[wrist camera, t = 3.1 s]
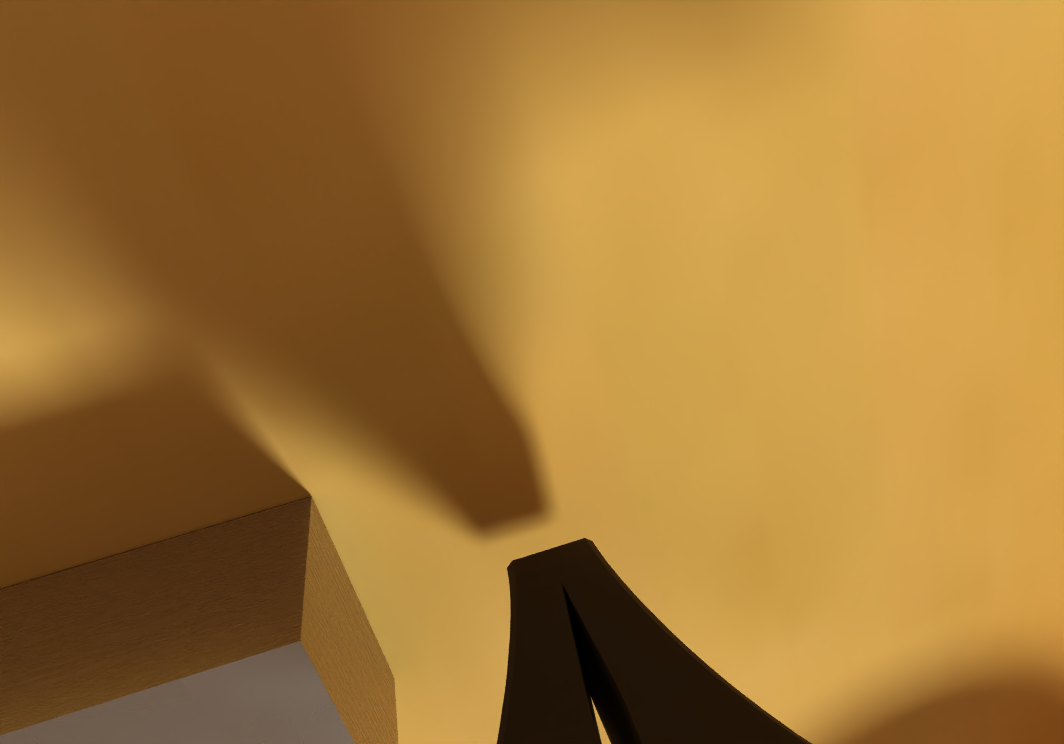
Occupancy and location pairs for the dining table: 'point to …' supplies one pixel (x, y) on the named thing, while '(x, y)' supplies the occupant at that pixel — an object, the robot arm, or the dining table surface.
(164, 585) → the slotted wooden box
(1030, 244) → the dining table surface
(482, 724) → the dining table surface
